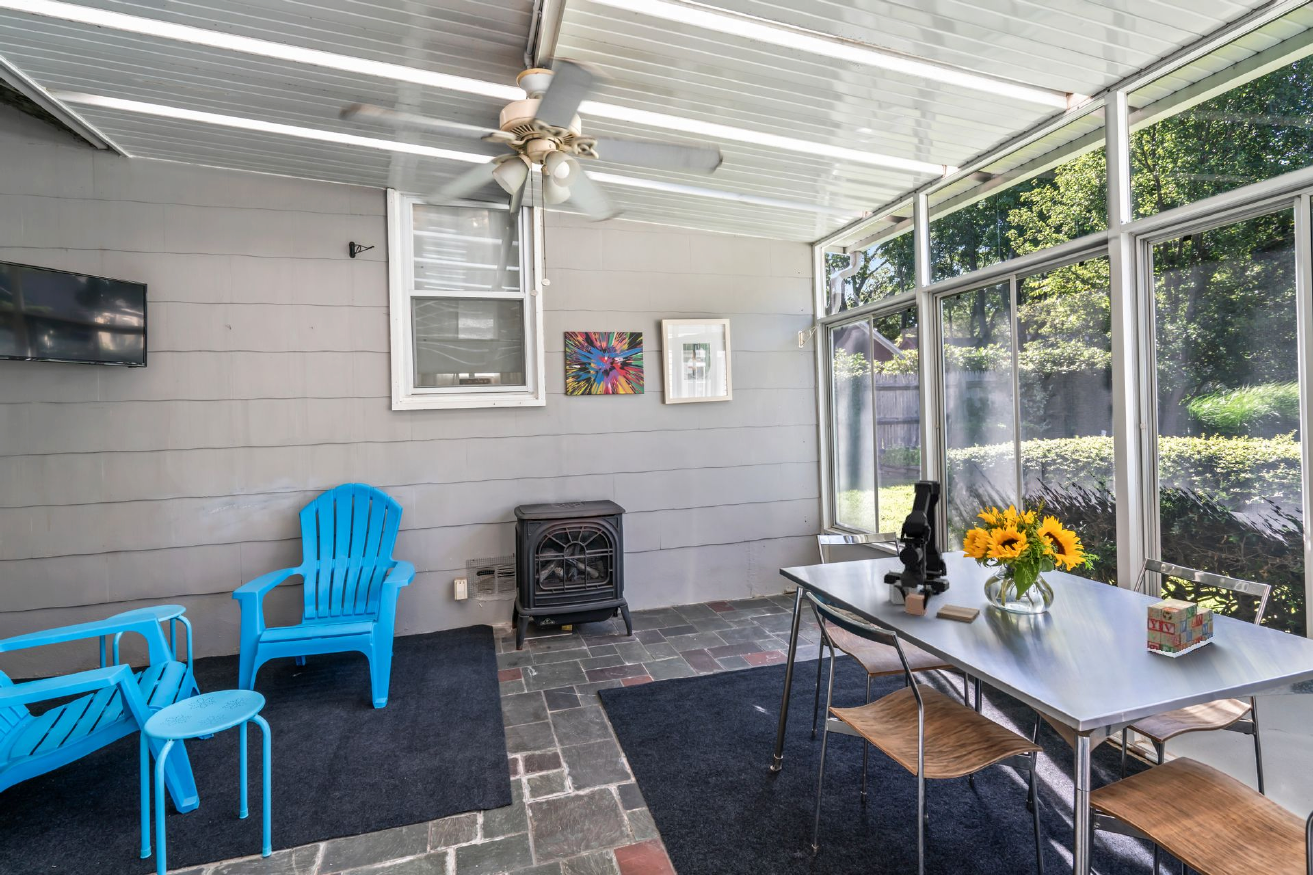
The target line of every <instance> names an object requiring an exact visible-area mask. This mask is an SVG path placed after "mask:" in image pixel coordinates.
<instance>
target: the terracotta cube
mask: <svg viewBox="0 0 1313 875" xmlns="http://www.w3.org/2000/svg"><path fill="white" fill-rule="evenodd" d="M904 605H905V606H904V607H905V608H904V609H905V614H911V615H916V616H923V615H924V614H925V613H927V612H928V611H927V610H928V609H927V608H928V607H927V608H926V610H924V606H923V605H924V595H922V594H918V595H916V594H909V595H908V596H906V597H905V604H904Z"/></svg>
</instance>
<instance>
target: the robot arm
mask: <svg viewBox="0 0 1313 875" xmlns="http://www.w3.org/2000/svg"><path fill="white" fill-rule="evenodd" d="M913 483H914V488H913V490H914V491H913V493H914V494H915V495H914V500H913V504H912V509H911V513H909V514H907V515H906V516H905V518H904V522H903V523H902V524H901V533H900V539H899V543H900V544H901V543H902V544H904V547H903V548H902V549H901V550H900V552H899V554H898V557H899V558H898V559H899V561H900V563H901V564H902V565H904V568H903V569H904V571H903V572H902V574H901V573H897V572H889V571H888V573H886V574H884V576H883V584H886V585H889V584H892V585H893V584H894V583H895V585H894V587H896V588H898V589H899V590H900V592H901V594H902V596H903V599H904V602H905V597H906V596H908V595H909V587H910V588H917V586H922V588H921V589H919V592H921V593H923V594H924V595H923V596H924V605H923V606H924V610H926V608H928V605H929V604H930V599H931V598H932V595H933V594H934V595H941V593H945V592H947V591H948V590H949V589H950V581H949V580H948V579H946V578H942V577H945V576H946V577H947V575H948V570H947V563H946V562H945V559H944V558H943V552H942V551H941V548H939V546H938V529H937V528H938V527H937V526H938V524H937V522H938V520H937V519H938V518H937V505H938V503H939V502H940V500H941V498H942V495H943V492H944V485H943V484H942V483H940V481H939V480H929V479H928V480H925V479H920V480H919V481H918V482H913Z"/></svg>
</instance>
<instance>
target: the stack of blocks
mask: <svg viewBox="0 0 1313 875" xmlns="http://www.w3.org/2000/svg"><path fill="white" fill-rule="evenodd" d="M1213 616H1214V615H1213V608H1208V607H1206V606H1205V607H1203V606H1198V603H1197V602H1196V603H1195V602H1192V601H1185V600H1180V599H1175V598H1167V599H1165V600H1161V601H1159V602H1157V603H1154V604H1150V605H1148V606H1147V619H1146V620H1147V622H1146V623H1147V625H1146V629H1147V635H1146V636H1147V637H1146V638H1147V640H1146V641H1147V642H1146V643H1147V644H1146V645H1147V646H1146V649H1147V648H1150V649H1156V650H1161V651H1165V652H1172V653H1176V652H1179V651H1181V650H1183V649H1186V648H1188V647H1191V646H1192V645H1194V644H1197V643H1200V641H1206V640H1207V639H1209V638H1211V637H1213V638H1214V620H1213V619H1214V618H1213Z"/></svg>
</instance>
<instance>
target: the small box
mask: <svg viewBox="0 0 1313 875" xmlns="http://www.w3.org/2000/svg"><path fill="white" fill-rule="evenodd" d="M904 569H905V568H900V569H899V568H897V569H896V568H895V569H893V568H888V573H889V572H897V573H901V574H902V572H903V571H904ZM894 585H895V583H894V584H893V585H892V584H888V588H889V589H888V590H889V591H888V592H889V593H888V595H889V601H891V603H892V604H893V605H905V602H904V599H903V596H902V594H901V592H900V590H899V589H898V588H896V587H894ZM918 586H919V585H918ZM918 586H917V588H910V587H909V594H916V595H919V594H918V593H919V591H918V588H919V587H918Z"/></svg>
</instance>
